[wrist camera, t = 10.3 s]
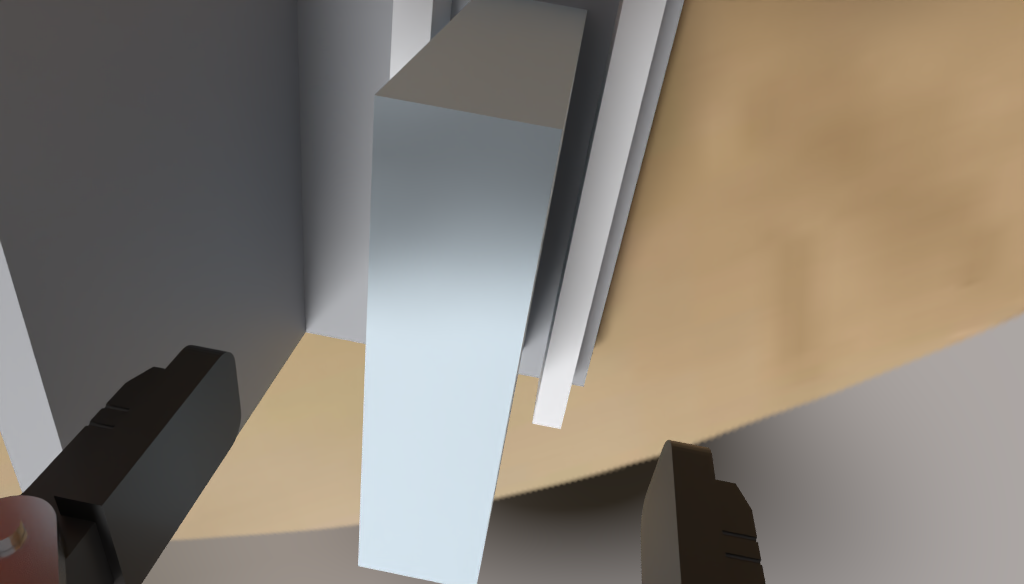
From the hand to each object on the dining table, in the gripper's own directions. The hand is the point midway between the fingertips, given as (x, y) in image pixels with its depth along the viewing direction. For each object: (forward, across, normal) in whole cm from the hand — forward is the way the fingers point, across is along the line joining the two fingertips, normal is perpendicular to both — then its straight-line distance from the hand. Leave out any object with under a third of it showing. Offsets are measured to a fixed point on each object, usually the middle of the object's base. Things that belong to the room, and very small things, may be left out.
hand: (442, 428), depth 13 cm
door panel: (+11, 0, +1) cm, 11 cm away
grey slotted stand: (+13, +2, 0) cm, 13 cm away
